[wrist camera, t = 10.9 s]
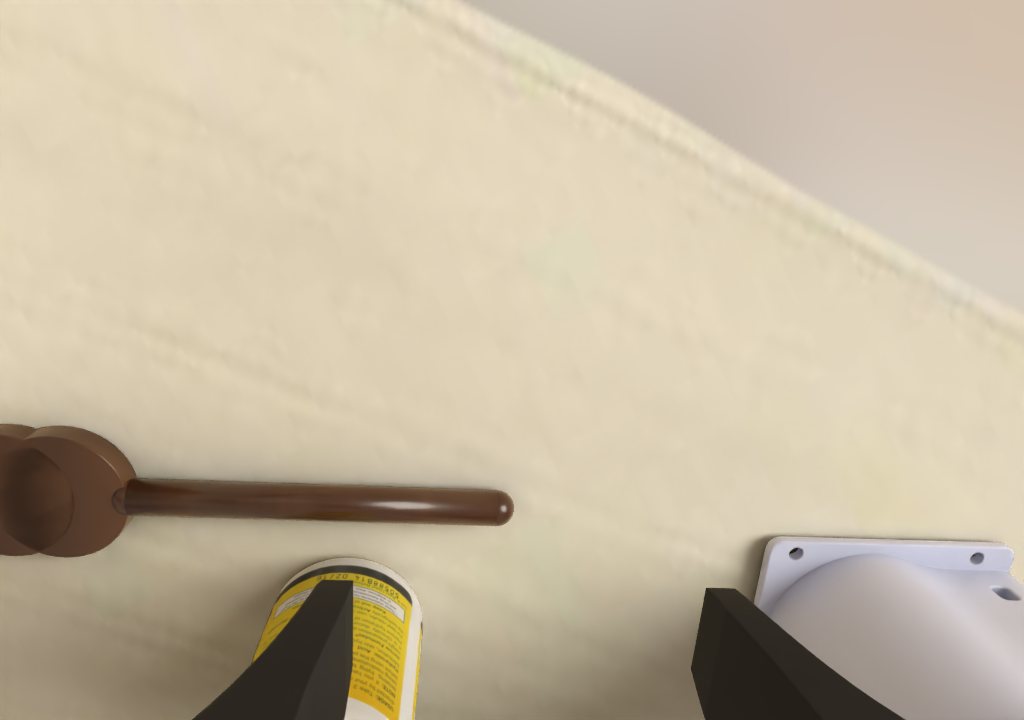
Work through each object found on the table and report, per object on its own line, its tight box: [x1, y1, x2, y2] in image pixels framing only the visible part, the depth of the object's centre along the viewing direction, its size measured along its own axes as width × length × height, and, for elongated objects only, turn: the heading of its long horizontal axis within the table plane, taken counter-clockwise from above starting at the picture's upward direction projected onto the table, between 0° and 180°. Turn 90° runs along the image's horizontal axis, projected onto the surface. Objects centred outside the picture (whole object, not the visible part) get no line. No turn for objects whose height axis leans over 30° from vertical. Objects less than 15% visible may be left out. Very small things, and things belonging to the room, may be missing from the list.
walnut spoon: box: [0, 424, 514, 557], centre depth 24 cm, size 19×4×1 cm, turn 86°
